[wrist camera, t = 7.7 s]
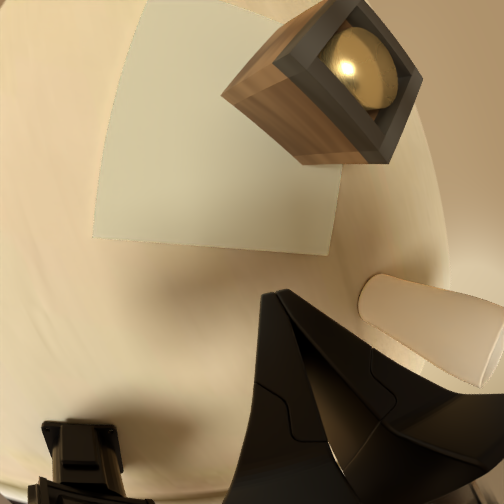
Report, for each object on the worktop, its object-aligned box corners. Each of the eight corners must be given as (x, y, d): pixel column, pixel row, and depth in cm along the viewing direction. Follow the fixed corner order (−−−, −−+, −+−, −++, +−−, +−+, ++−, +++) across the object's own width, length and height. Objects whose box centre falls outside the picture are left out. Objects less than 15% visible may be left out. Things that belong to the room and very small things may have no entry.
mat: (324, 254, 25) (327, 255, 25) (92, 237, 17) (92, 238, 16) (349, 61, 23) (352, 60, 22) (153, -13, 14) (154, -16, 14)
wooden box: (299, 165, 22) (388, 164, 15) (218, 97, 18) (289, 53, 11) (341, 95, 23) (423, 78, 15) (275, 30, 19) (350, -15, 12)
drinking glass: (398, 289, 32) (512, 333, 19) (365, 337, 31) (479, 398, 18) (378, 251, 29) (515, 293, 16) (340, 305, 28) (479, 374, 15)
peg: (302, 136, 21) (382, 126, 14) (252, 92, 18) (324, 58, 12) (329, 92, 21) (405, 74, 15) (286, 49, 19) (357, 13, 12)
